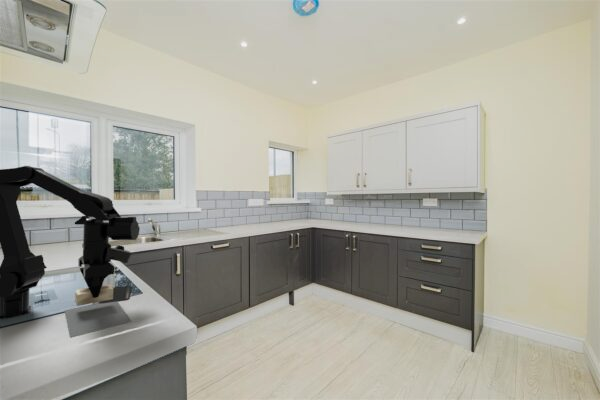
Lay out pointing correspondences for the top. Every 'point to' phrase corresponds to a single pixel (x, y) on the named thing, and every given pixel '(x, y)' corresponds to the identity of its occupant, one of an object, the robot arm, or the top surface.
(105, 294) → the beige wooden block
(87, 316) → the mat
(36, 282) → the robot arm
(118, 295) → the phone
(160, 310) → the top surface
